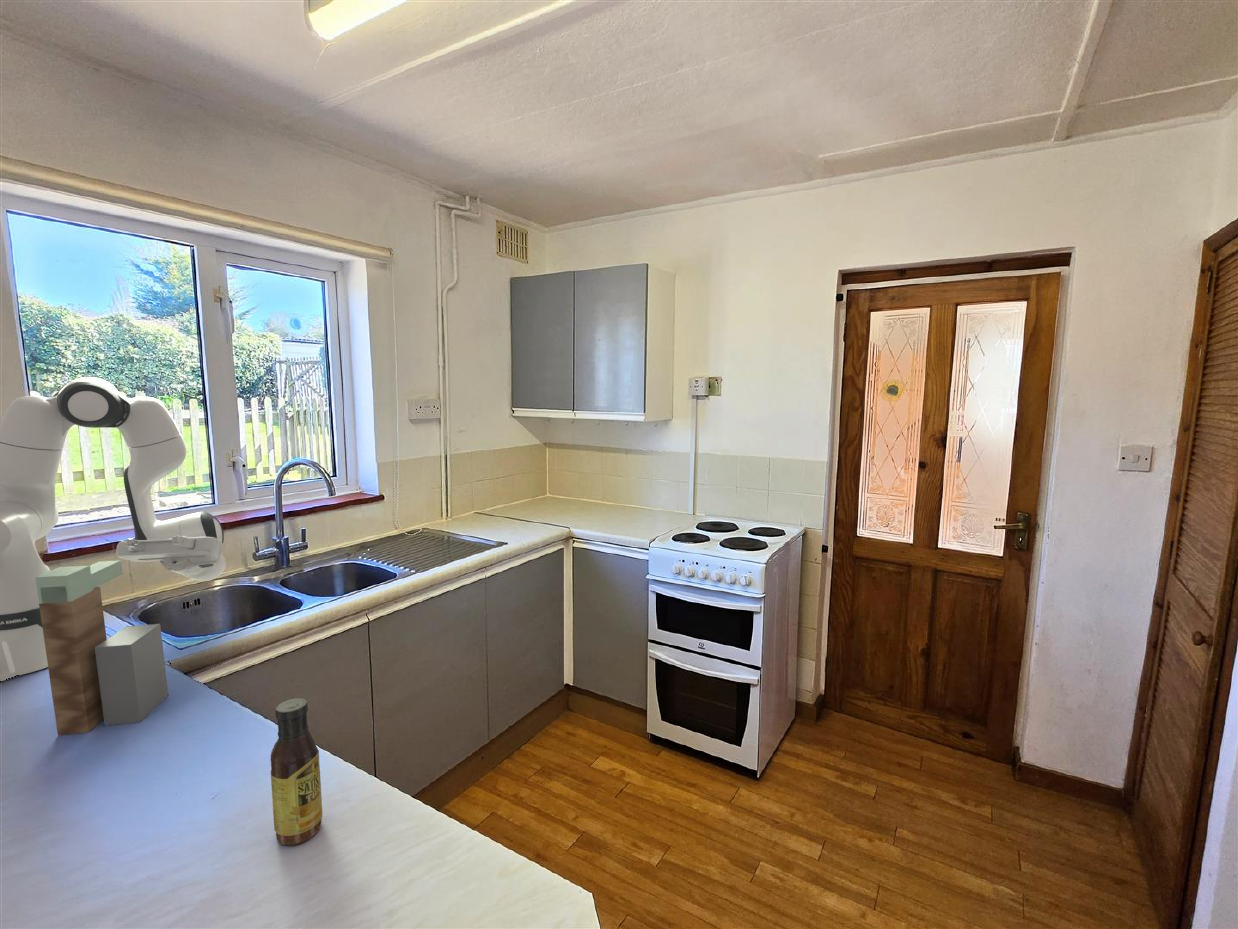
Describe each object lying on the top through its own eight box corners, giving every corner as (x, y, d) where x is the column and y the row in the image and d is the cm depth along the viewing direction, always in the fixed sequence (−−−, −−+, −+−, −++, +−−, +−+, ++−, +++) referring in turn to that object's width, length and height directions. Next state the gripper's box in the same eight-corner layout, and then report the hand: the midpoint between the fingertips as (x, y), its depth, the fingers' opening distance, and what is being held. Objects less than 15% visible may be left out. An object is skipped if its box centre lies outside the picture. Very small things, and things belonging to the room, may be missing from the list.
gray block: (104, 725, 112) (94, 647, 110) (135, 698, 122) (127, 626, 120) (140, 721, 114) (130, 644, 111) (168, 695, 123) (160, 623, 121)
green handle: (39, 603, 106) (35, 577, 105) (97, 575, 121) (94, 552, 120) (71, 601, 107) (67, 575, 106) (125, 574, 122) (122, 551, 121)
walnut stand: (57, 735, 109) (39, 603, 106) (87, 712, 117) (70, 588, 113) (88, 732, 110) (71, 601, 107) (115, 709, 118) (100, 586, 114)
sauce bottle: (308, 849, 83) (298, 719, 80) (265, 848, 83) (253, 719, 80) (332, 815, 89) (323, 694, 86) (292, 814, 89) (282, 694, 86)
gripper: (138, 545, 145) (102, 530, 132) (229, 540, 149) (203, 525, 136) (133, 570, 142) (96, 557, 130) (225, 564, 146) (199, 551, 134)
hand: (152, 540), depth 133 cm, fingers open, 8 cm apart
